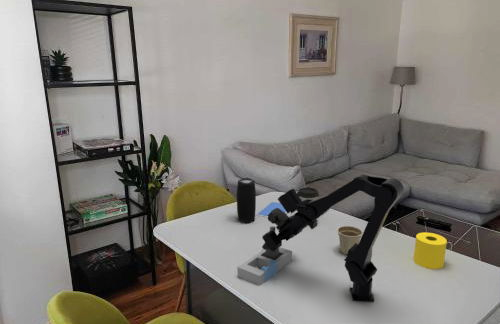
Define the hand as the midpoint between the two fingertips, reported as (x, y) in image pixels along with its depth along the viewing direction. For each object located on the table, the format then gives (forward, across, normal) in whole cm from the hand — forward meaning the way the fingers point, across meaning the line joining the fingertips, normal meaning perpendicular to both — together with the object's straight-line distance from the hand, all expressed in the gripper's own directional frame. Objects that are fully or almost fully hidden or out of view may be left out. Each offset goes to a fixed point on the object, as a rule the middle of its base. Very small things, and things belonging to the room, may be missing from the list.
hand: (269, 244), depth 137 cm
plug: (+4, 0, +6) cm, 7 cm away
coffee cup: (+10, -42, +1) cm, 43 cm away
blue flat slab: (+23, -44, -12) cm, 51 cm away
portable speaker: (+26, -26, -16) cm, 40 cm away
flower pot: (-9, -25, +20) cm, 33 cm away
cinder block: (+4, +4, +6) cm, 8 cm away
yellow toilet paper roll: (-28, -34, +39) cm, 59 cm away
